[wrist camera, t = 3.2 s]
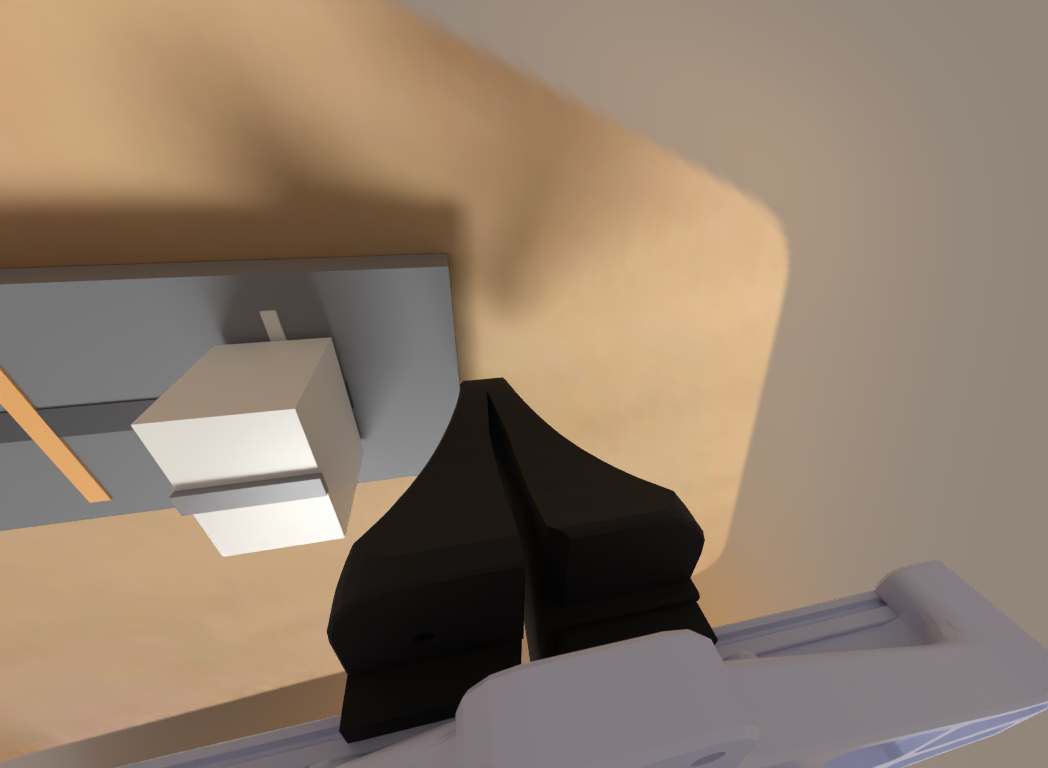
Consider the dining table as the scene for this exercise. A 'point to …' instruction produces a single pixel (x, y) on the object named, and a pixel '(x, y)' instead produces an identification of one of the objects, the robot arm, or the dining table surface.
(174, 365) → the console
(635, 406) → the dining table surface
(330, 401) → the block
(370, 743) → the robot arm
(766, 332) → the dining table surface
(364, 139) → the dining table surface
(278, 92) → the dining table surface
